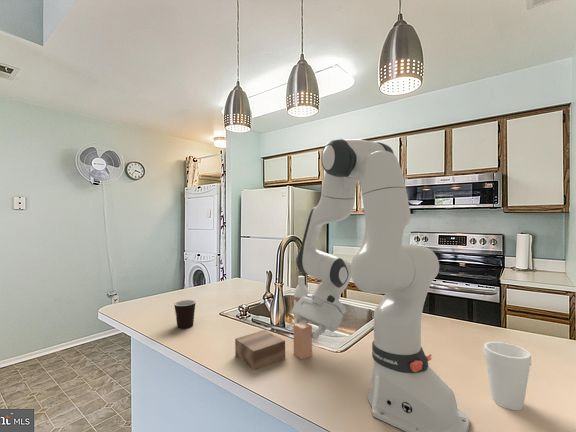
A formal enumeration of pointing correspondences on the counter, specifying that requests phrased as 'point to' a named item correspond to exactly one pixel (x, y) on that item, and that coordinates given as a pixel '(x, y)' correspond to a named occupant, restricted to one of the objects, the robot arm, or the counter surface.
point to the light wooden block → (302, 340)
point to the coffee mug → (185, 313)
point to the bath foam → (300, 292)
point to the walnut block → (259, 349)
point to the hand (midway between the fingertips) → (303, 333)
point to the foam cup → (507, 373)
